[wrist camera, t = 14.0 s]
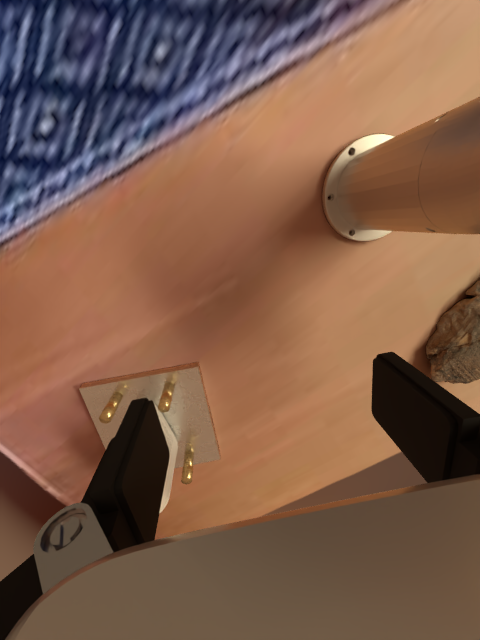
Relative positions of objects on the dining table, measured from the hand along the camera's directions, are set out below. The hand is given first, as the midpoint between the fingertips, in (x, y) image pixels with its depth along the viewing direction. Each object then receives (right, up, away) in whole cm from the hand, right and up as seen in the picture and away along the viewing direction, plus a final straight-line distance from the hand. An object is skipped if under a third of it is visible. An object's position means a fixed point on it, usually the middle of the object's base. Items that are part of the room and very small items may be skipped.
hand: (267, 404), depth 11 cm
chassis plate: (-15, -13, +34) cm, 39 cm away
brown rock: (+37, +2, +34) cm, 50 cm away
